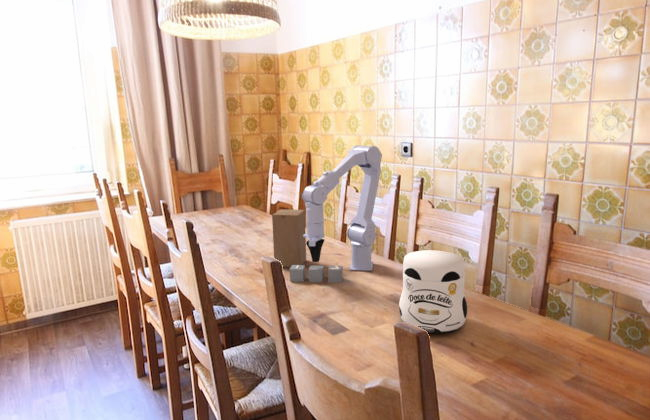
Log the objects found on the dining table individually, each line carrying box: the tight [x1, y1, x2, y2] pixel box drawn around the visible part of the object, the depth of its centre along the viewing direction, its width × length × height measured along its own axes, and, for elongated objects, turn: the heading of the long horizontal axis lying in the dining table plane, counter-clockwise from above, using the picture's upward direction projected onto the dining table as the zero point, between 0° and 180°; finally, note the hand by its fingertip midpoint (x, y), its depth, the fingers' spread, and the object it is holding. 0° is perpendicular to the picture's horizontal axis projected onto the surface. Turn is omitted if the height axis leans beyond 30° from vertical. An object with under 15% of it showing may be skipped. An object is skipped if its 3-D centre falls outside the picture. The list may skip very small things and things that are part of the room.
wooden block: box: [271, 209, 307, 269], centre depth 172 cm, size 10×10×20 cm
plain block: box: [308, 264, 325, 283], centre depth 155 cm, size 4×4×4 cm
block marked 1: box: [289, 264, 306, 283], centre depth 156 cm, size 4×4×5 cm
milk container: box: [398, 249, 468, 334], centre depth 119 cm, size 17×17×18 cm
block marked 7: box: [327, 265, 344, 284], centre depth 154 cm, size 4×4×5 cm
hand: (315, 261), depth 154 cm, fingers closed
